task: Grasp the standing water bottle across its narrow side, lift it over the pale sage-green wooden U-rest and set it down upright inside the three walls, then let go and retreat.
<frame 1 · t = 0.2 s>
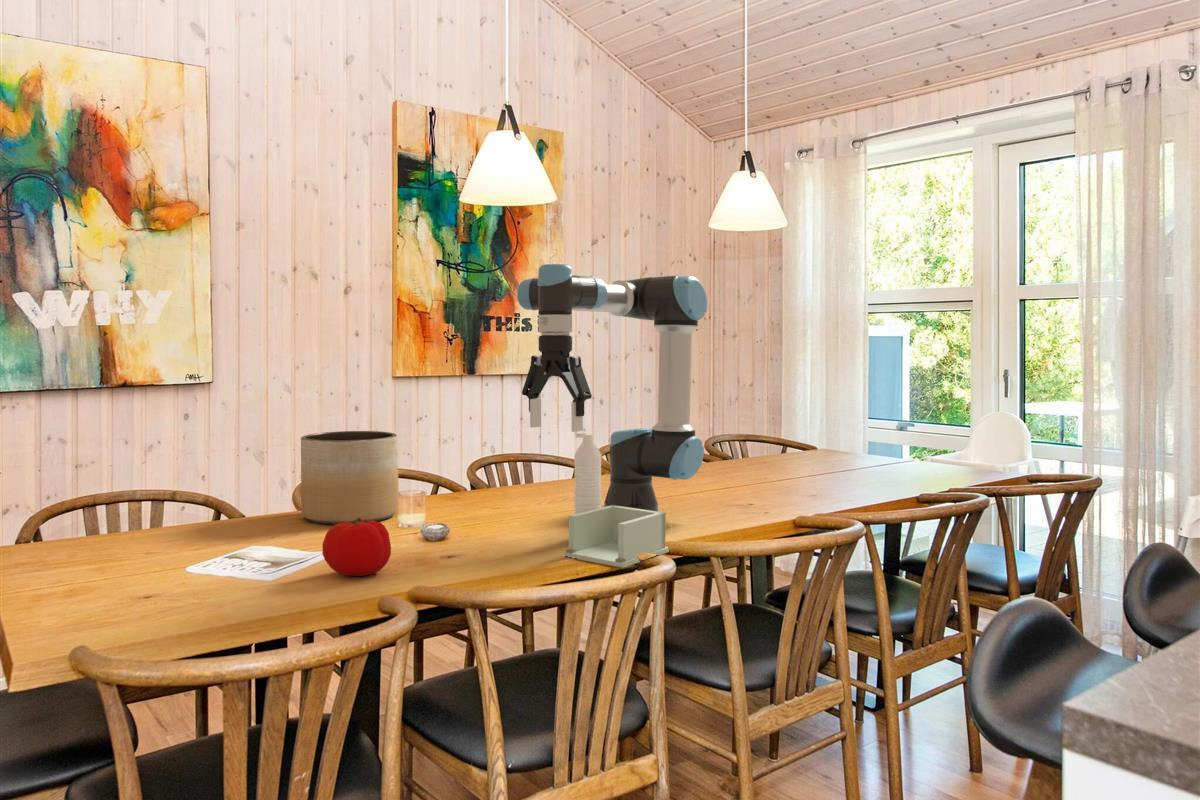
hand: (556, 429, 197), 28 cm above the table, fingers open, 13 cm apart
planter: (351, 517, 238), on the table
u rest: (617, 554, 196), on the table
tomato: (357, 575, 179), on the table
water bottle: (586, 538, 213), on the table
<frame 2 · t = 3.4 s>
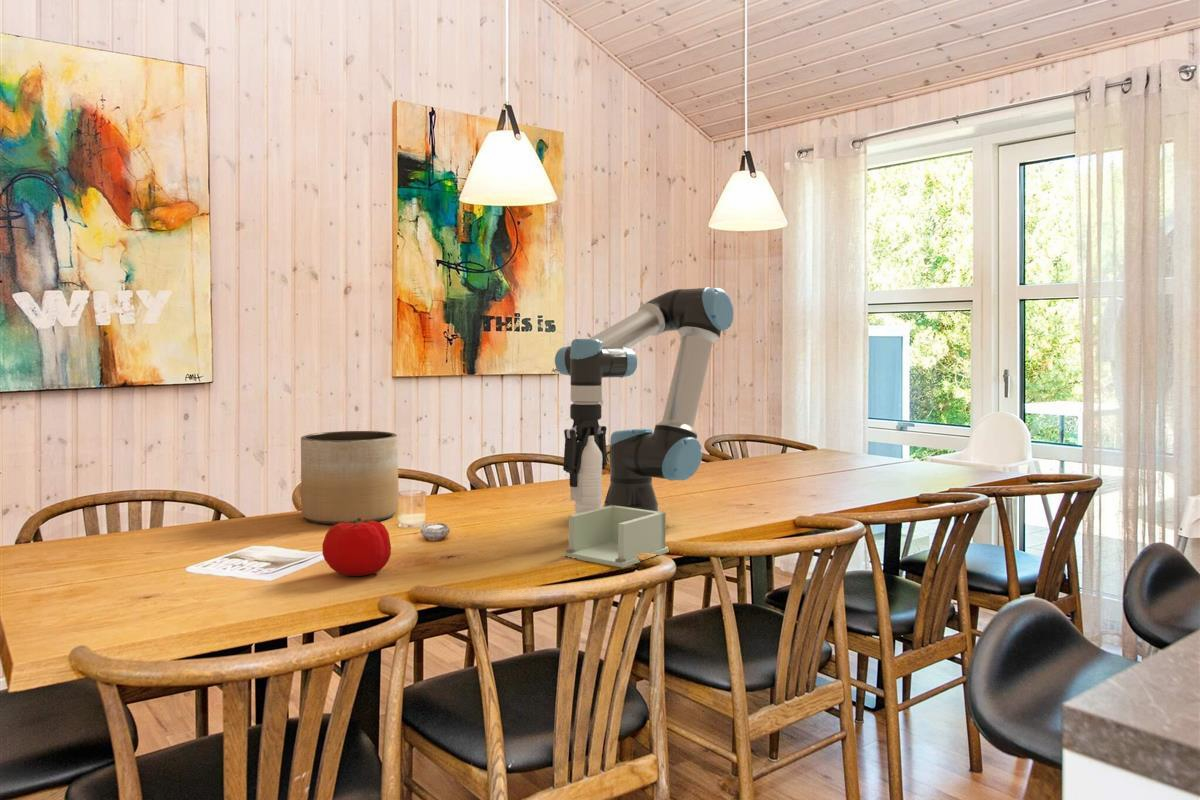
hand: (585, 497, 212), 10 cm above the table, fingers closed on water bottle, 7 cm apart
water bottle: (586, 537, 213), on the table, touching gripper
everything else where it was.
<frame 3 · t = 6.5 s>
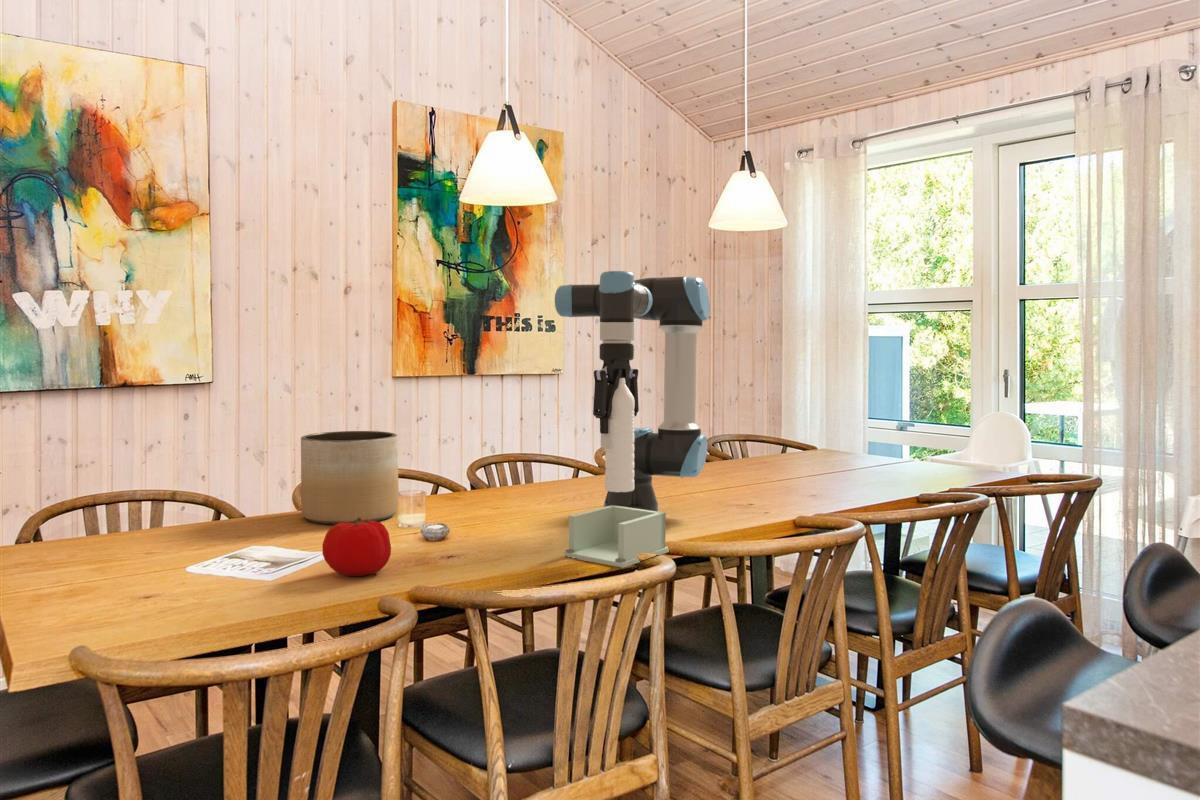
hand: (616, 446, 194), 24 cm above the table, fingers closed on water bottle, 6 cm apart
water bottle: (617, 490, 195), point 14 cm above the table, touching gripper
everything else where it was.
when the fingers open (12 cm above the table, at t = 9.3 s): water bottle drops 1 cm, resting on u rest.
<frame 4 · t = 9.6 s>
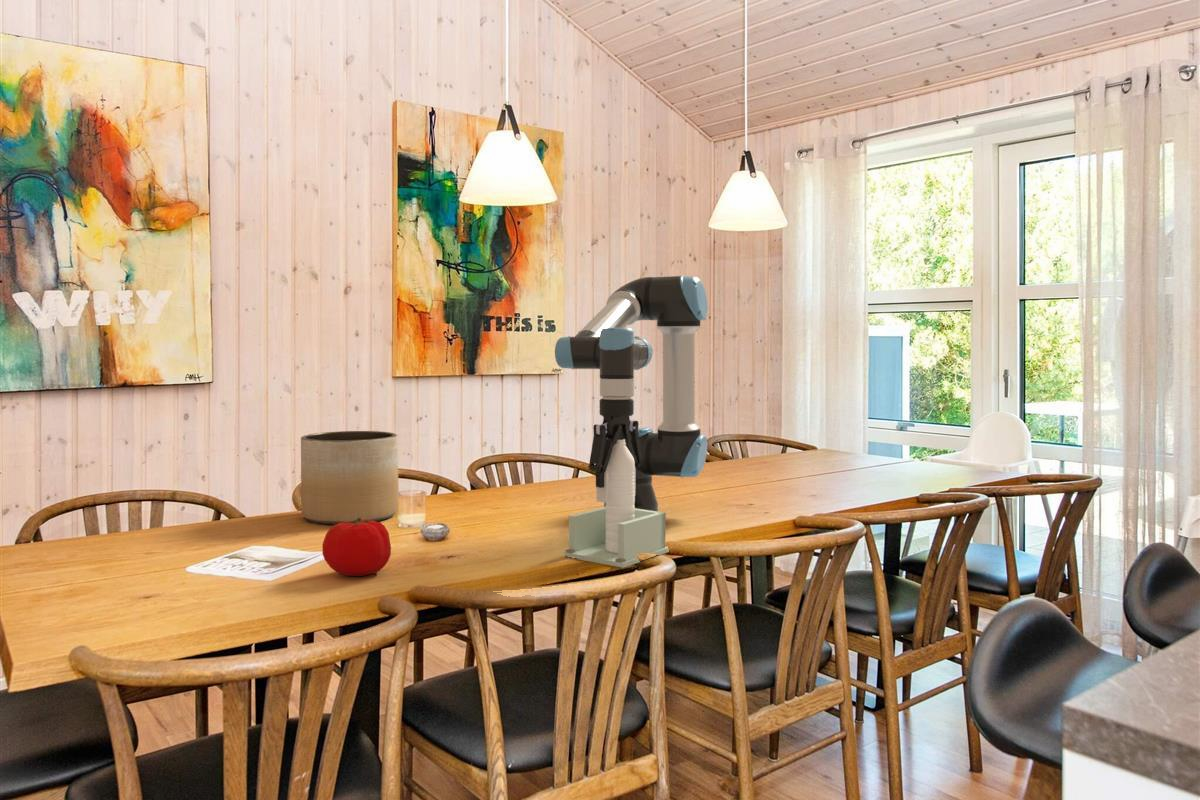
hand: (616, 498, 195), 13 cm above the table, fingers open, 9 cm apart
water bottle: (618, 550, 196), point 1 cm above the table, touching u rest
everything else where it was.
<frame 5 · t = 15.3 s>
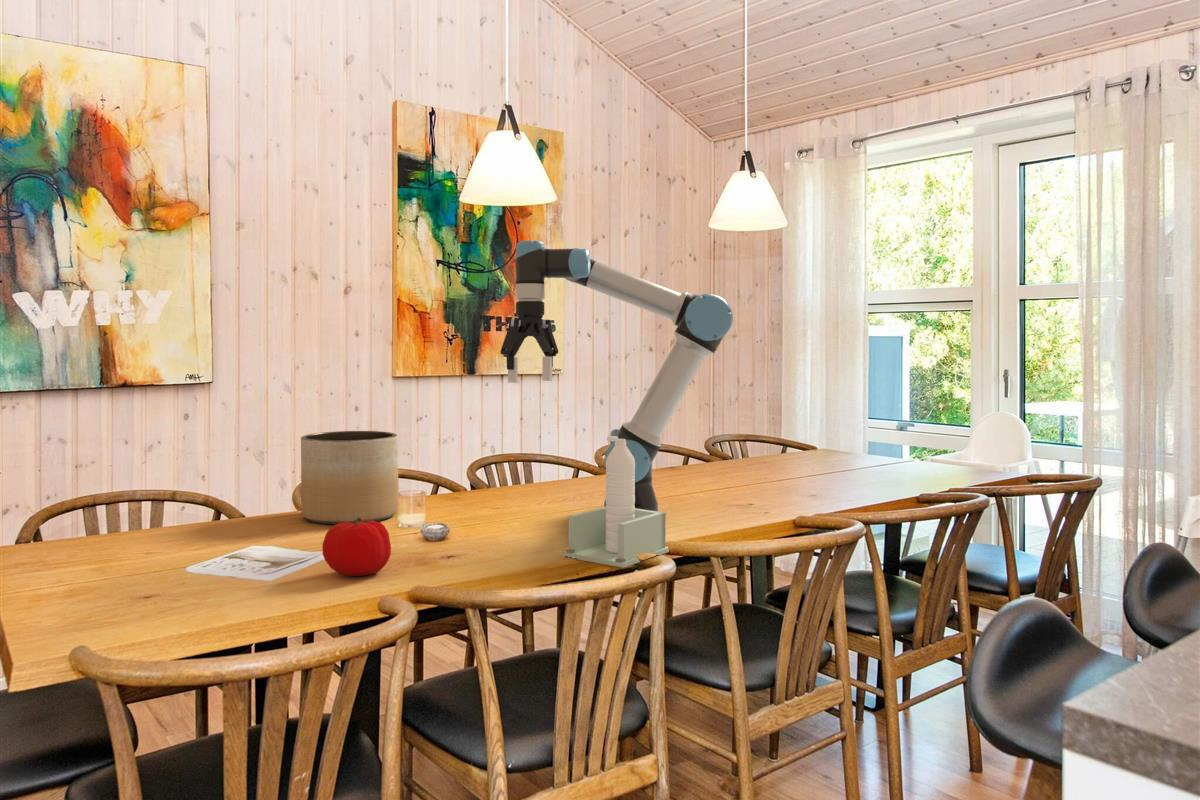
hand: (530, 381, 232), 37 cm above the table, fingers open, 13 cm apart
nothing on the table moved.
at the end: water bottle inside the target area on the u rest (1.1 cm from its centre), point 0.8 cm above the u rest's base; water bottle tilted 0°; the gripper is holding nothing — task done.
